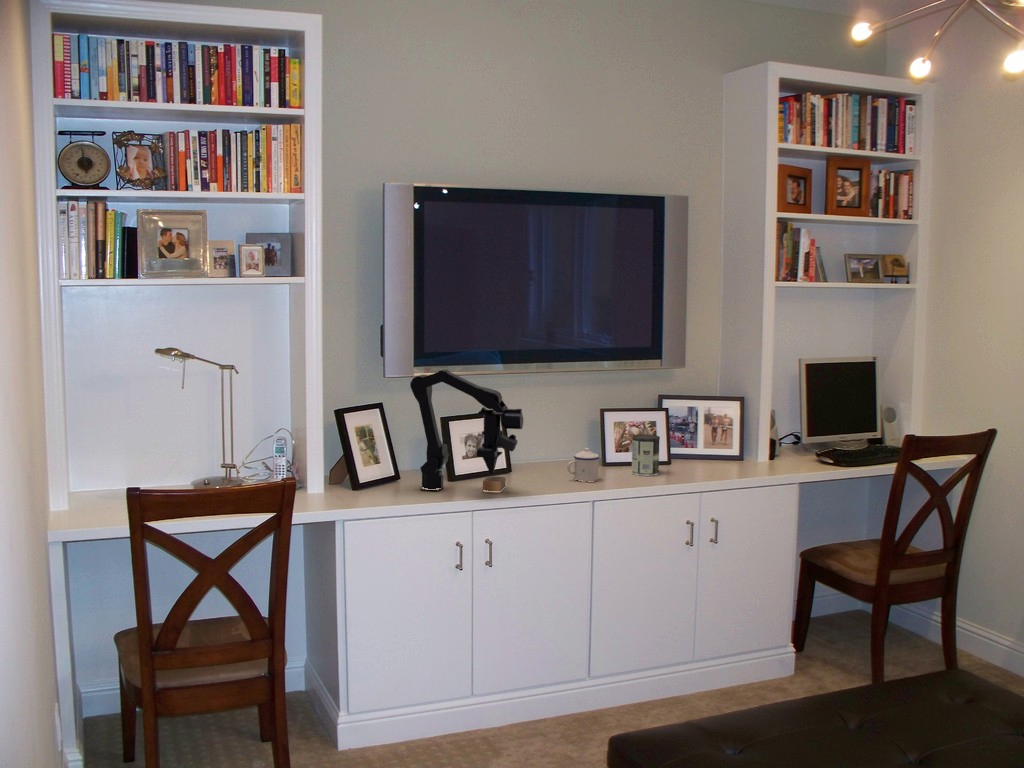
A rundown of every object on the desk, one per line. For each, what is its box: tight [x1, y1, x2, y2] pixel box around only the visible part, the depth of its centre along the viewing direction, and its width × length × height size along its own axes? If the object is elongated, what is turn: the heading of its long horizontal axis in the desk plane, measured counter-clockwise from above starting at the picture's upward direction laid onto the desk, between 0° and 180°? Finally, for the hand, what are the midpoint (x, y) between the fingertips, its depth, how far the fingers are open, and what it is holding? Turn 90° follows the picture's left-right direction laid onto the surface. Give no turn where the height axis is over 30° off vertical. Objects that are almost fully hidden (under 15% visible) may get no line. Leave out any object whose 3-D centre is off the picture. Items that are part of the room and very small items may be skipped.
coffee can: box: [631, 433, 661, 477], centre depth 347 cm, size 10×10×14 cm
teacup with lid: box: [566, 447, 600, 482], centre depth 334 cm, size 12×9×12 cm
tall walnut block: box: [482, 475, 506, 491], centre depth 318 cm, size 6×4×8 cm
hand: (491, 473), depth 314 cm, fingers closed
